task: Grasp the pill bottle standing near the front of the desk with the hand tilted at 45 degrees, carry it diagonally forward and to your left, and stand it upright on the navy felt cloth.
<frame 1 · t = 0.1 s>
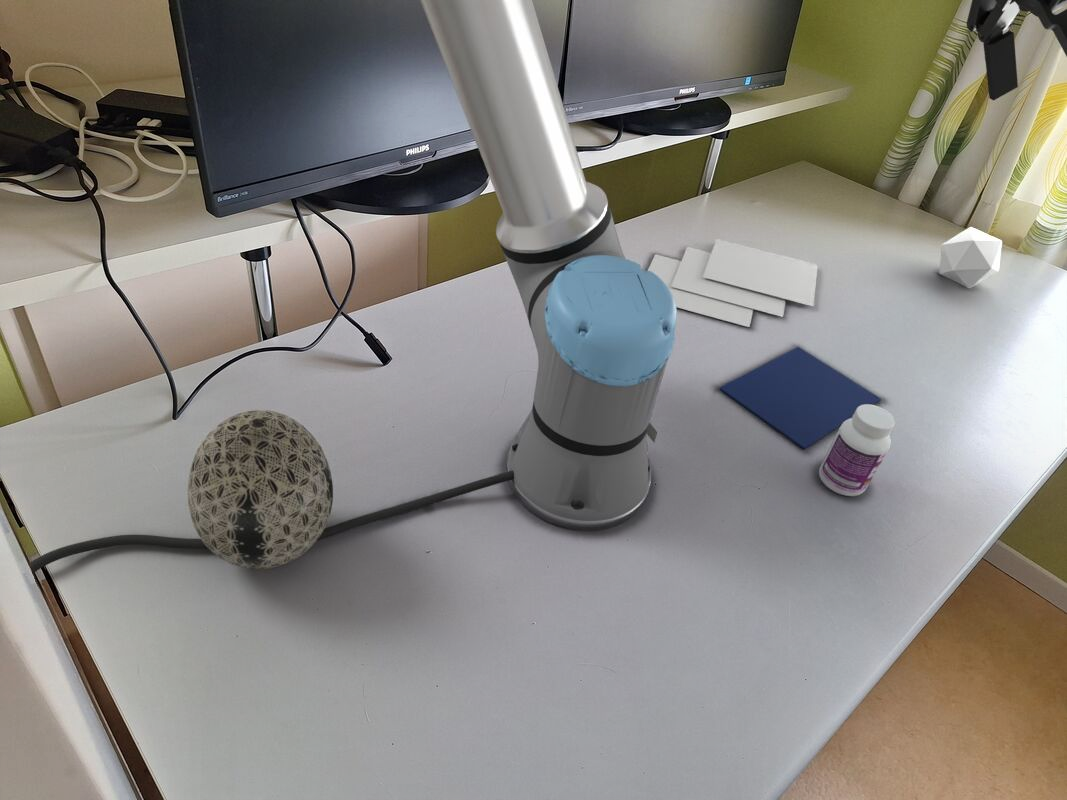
hand: (1045, 116, 78), 36 cm above the table, tool tilted 35°, fingers open, 13 cm apart
pill bottle: (841, 481, 85), on the table
cloth: (800, 394, 97), on the table
die: (958, 279, 127), on the table
paper stack: (730, 282, 117), on the table
decorative egg: (271, 546, 70), on the table
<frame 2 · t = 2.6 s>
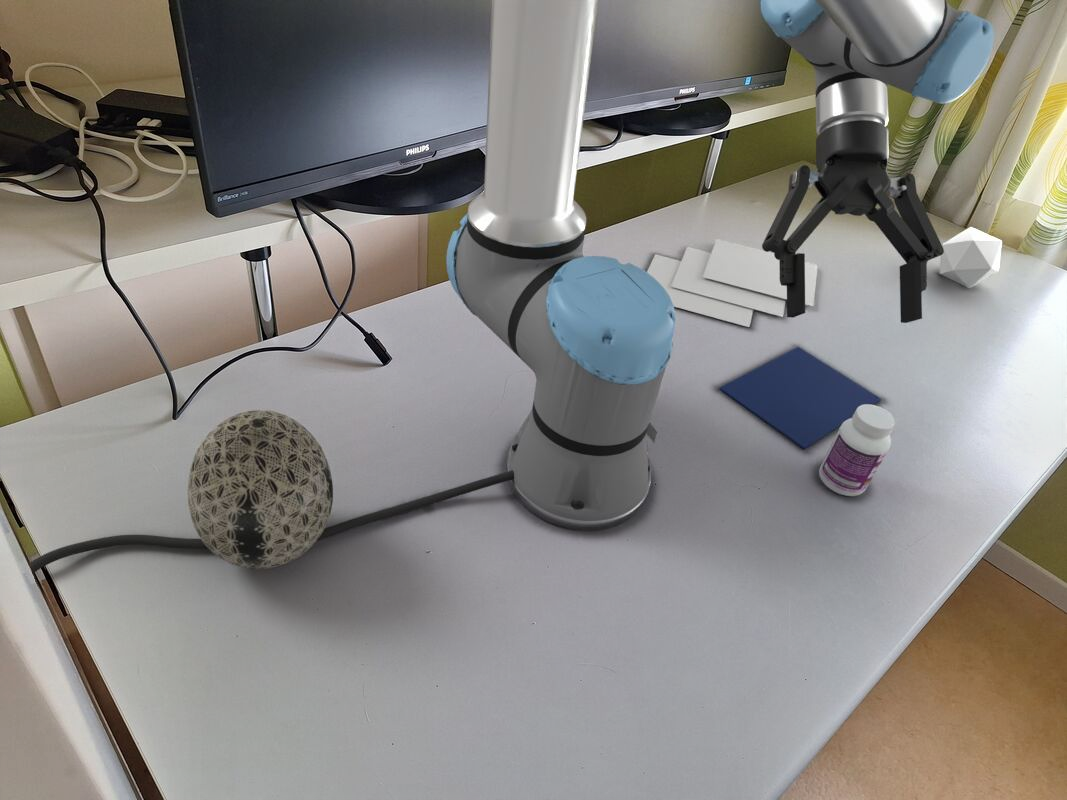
hand: (854, 318, 84), 15 cm above the table, tool tilted 45°, fingers open, 13 cm apart
nothing on the table moved.
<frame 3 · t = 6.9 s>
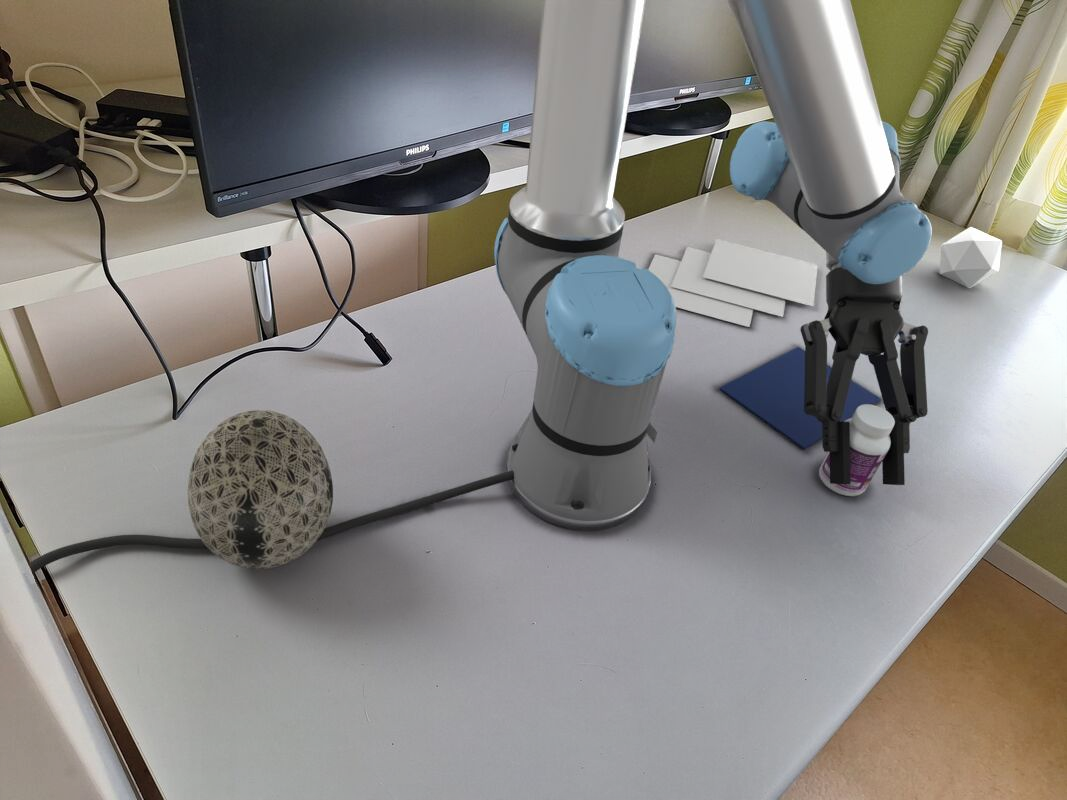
hand: (866, 483, 80), 3 cm above the table, tool tilted 45°, fingers closed on pill bottle, 5 cm apart
pill bottle: (841, 481, 85), on the table, touching gripper
everything else where it was.
when the fingers open (4 cm above the table, at t = 14.7 s): pill bottle stays where it is, resting on cloth.
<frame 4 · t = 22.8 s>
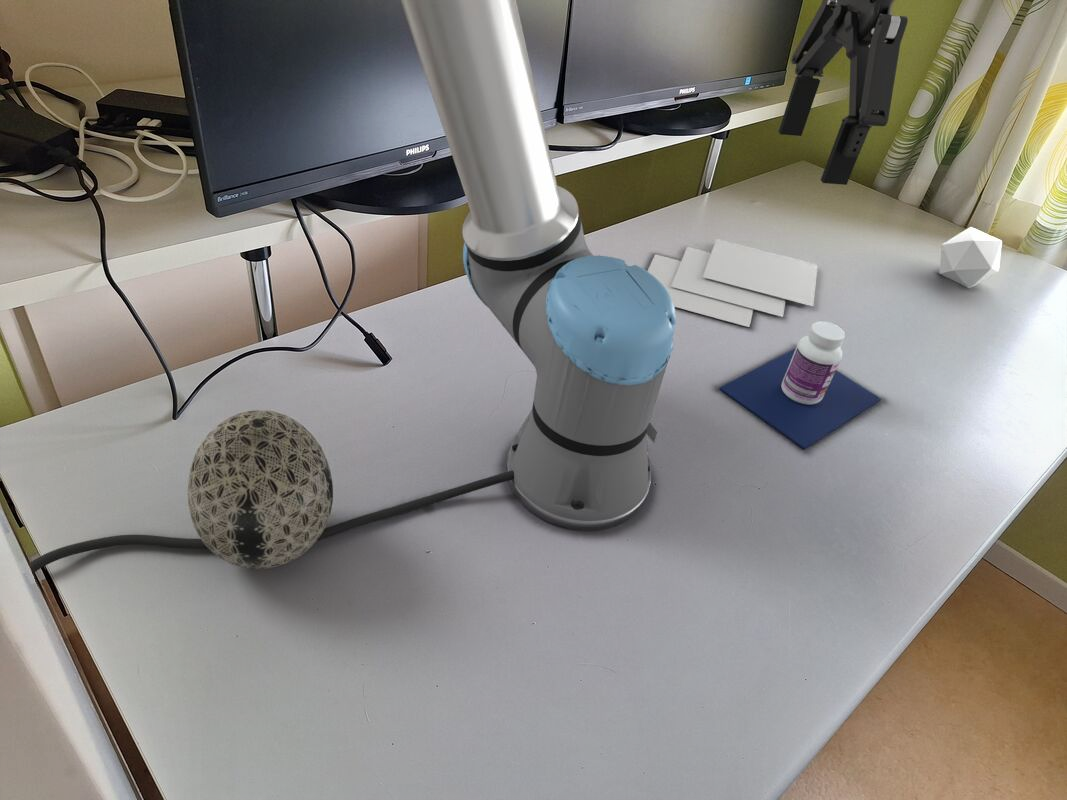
hand: (810, 157, 87), 27 cm above the table, tool pointing down, fingers open, 13 cm apart
pill bottle: (800, 393, 97), resting on cloth
everything else where it was.
at the end: pill bottle inside the target area on the cloth (0.1 cm from its centre), point 0.1 cm above the cloth's base; pill bottle tilted 0°; pill bottle moved 15.1 cm from its start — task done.
